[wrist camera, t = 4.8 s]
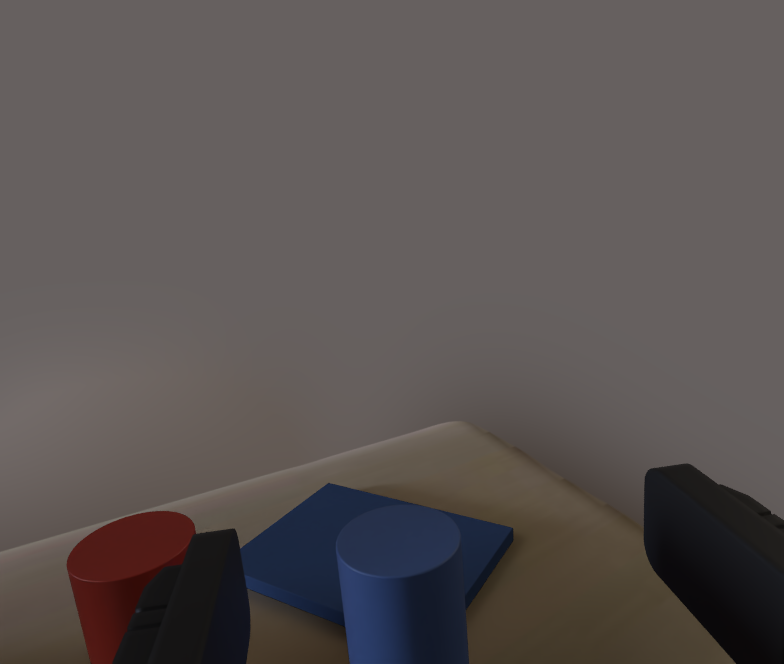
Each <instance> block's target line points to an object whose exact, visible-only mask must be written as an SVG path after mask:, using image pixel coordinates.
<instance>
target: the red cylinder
mask: <svg viewBox="0 0 784 664" xmlns="http://www.w3.org/2000/svg"><path fill="white" fill-rule="evenodd" d="M194 534H196V531H195V526H194V523H193V522H192V520H191V519H190V518H188V517H187V516H185V515H183V514H180V513H177V512H170V511H155V512H146V513H141V514H136V515H132V516H128V517H125V518H122V519H119V520H117V521H114V522H112V523H109V524H107V525H105V526H103V527H101V528H99V529H97V530H96V531H94V532H93V533H91V534H90V535H88V536H87V537H85V538H84V539H83V540H82V541H80V542H79V543H78V544H77V545H76V546H75V548H74V549H73V550H72V551H71V553H70V555H69V557H68V560H67V570H68V574H69V578H70V582H71V586H72V590H73V594H74V598H75V602H76V606H77V610H78V614H79V618H80V622H81V626H82V630H83V634H84V638H85V642H86V646H87V650H88V654H89V659H90V663H91V664H112V662H113V660H114V657H115V655H116V653H117V650H118V648H119V645H120V643H121V641H122V638H123V636H124V634H125V632H127V627H128V624H129V622H130V620H131V617H132V615H133V614H134V613H135V608H136V605H137V603H138V601H139V598H140V596H141V594H142V591H143V589H144V587H145V586H146V585H147V584H148V583H149V582H150V581H151V580H152V579H153V578H154V577H155V576H156V575H157V574H158V573H159V572H160V571H161V570H162V569H163V568H164V567H167V566H174V565H180V564H182V563H183V560H184V557H185V554H186V552H187V549H188V546H189V543H190V540H191V538H192V536H193V535H194Z"/></svg>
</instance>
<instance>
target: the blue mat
mask: <svg viewBox="0 0 784 664" xmlns="http://www.w3.org/2000/svg"><path fill="white" fill-rule="evenodd" d="M392 505H417V504H413V503H408V502H404V501H400V500H396V499H392V498H388V497H384V496H380V495H376V494H371V493H367V492H363V491H359V490H355V489H351V488H347V487H343V486H339V485H335V484H330V483H328V484H326V485H325V486H324V487H322V488H321V489H320V490H318V491H317V492H316V493H314V494H313V495H312V496H310V497H309V498H308V499H306V500H305V501H304V502H302V503H301V504H300V505H298V506H297V507H296V508H294V509H293V510H292V511H290V512H289V513H288V514H286V515H285V516H284V517H282V518H281V519H280V520H278V521H277V522H276V523H274V524H273V525H272V526H270V527H269V528H268V529H266V530H265V531H264V532H262V533H261V534H259V535H258V536H257V537H255V538H254V539H253V540H251V541H250V542H249V543H247V544H246V545H245V546H243V547H242V548H241V549H240V552H241V558H242V564H243V570H244V576H245V582H246V588H248V589H251V590H253V591H256V592H258V593H261V594H263V595H266V596H268V597H271V598H273V599H276V600H278V601H281V602H284V603H286V604H289V605H291V606H294V607H296V608H299V609H301V610H304V611H306V612H309V613H311V614H314V615H316V616H319V617H322V618H324V619H327V620H329V621H332V622H334V623H337V624H339V625H342V626H344V627H345V620H344V612H343V604H342V596H341V587H340V579H339V571H338V563H337V555H336V541H337V538H338V535H339V533H340V532H341V530H342V529H343V528H344V527H345V526H346V525H347V524H348V523H349V522H350V521H351V520H353V519H354V518H356V517H358V516H359V515H361V514H363V513H366V512H368V511H371V510H374V509H377V508H381V507H386V506H392ZM418 506H421V505H418ZM424 507H425V506H424ZM432 509H433V508H432ZM435 510H437V509H435ZM438 511H440V512H442V513H444V514H446V515H447V516H449V517H450V518H451V519H452V520H453V521H454V522H455V523H456V525H457V526H458V528H459V530H460V534H461V545H462V561H463V577H464V593H465V608H466V609H467V608H468V606H469V605H470V603H471V602H472V600H473V599H474V598H475V596H476V595H477V593H478V592H479V590H480V589H481V587H482V586H483V584H484V583H485V581H486V580H487V578H488V577H489V575H490V574H491V573H492V571H493V570H494V568H495V567H496V565H497V564H498V562H499V561H500V559H501V558H502V556H503V555H504V553H505V552H506V550H507V549H508V548H509V546H510V545H511V543H512V542H513V528H511V527H507V526H503V525H499V524H495V523H491V522H486V521H482V520H478V519H474V518H470V517H466V516H462V515H458V514H454V513H449V512H445V511H441V510H438Z"/></svg>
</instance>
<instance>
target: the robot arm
mask: <svg viewBox="0 0 784 664" xmlns="http://www.w3.org/2000/svg"><path fill="white" fill-rule="evenodd" d="M644 491H645V492H644V546H645V550H646V554H647V557H648V560H649V562H650V564H651V566H652V568H653V569H654V571H655V572H656V574H657V575H658V576H659V577H660V578H661V579H662V580H663V581H664V583H665V584H666V585H667V586H668V587H669V588H670V589H671V591H672V592H673V593H674V594H675V595H676V596H677V597H678V598H679V600H680V601H681V602H682V603H683V604H684V605H685V606H686V607H687V609H688V610H689V611H690V612H691V613H692V614H693V615H694V616H695V618H696V619H697V620H698V621H699V622H700V623H701V624H702V625H703V627H704V628H705V629H706V630H707V631H708V632H709V633H710V635H711V636H712V637H713V638H714V639H715V640H716V641H717V642H718V644H719V645H720V646H721V647H722V648H723V649H724V650H725V651H726V653H727V654H728V655H729V656H730V657H731V658H732V659H733V660H734V662H735V663H736V664H784V520H782V519H781V518H780V517H778V516H777V515H775V514H773V515H772V514H771V511H769V510H768V509H767V508H766V507H764V506H763V505H761V504H760V503H758V502H757V501H756V500H754V499H753V498H751V497H750V496H748V495H746V494H743V493H741V492H738V491H736V490H733V489H731V488H728V487H726V486H724V485H718V484H717V483H715V482H714V481H713V480H711V479H710V478H709V477H707V476H706V475H705V474H703V473H702V472H700V471H699V470H697V469H696V468H695V467H693V466H692V465H690V464H680V465H673V466H667V467H659V468H653V469H650V470H648V472H647V473H646V476H645V488H644ZM249 639H250V607H249V599H248V593H247V588H246V582H245V576H244V570H243V564H242V558H241V552H240V546H239V541H238V536H237V533H236V530H235V529H227V530H220V531H213V532H206V533H199V534H194V535H193V536H192V538H191V540H190V543H189V546H188V549H187V552H186V554H185V557H184V560H183V563H182V564H180V565H174V566H167V567H164V568H163V569H162V570H161V571H160V572H159V573H158V574H157V575H156V576H155V577H154V578H153V579H152V580H151V581H150V582H149V583H148V584H147V585H146V586H145V587H144V589H143V591H142V594H141V596H140V598H139V601H138V603H137V605H136V608H135V613H134V614H133V615H132V617H131V620H130V622H129V624H128V627H127V632H125V634H124V636H123V638H122V641H121V643H120V645H119V648H118V650H117V653H116V655H115V657H114V660H113V662H112V664H246V660H247V653H248V646H249Z"/></svg>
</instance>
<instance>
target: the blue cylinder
mask: <svg viewBox="0 0 784 664" xmlns="http://www.w3.org/2000/svg"><path fill="white" fill-rule="evenodd" d="M336 555H337V563H338V571H339V579H340V587H341V596H342V604H343V612H344V620H345V628H346V637H347V645H348V653H349V661H350V664H469V656H468V640H467V624H466V608H465V593H464V577H463V561H462V545H461V534H460V530H459V528H458V526H457V525H456V523H455V522H454V521H453V520H452V519H451V518H450V517H449V516H447V515H446V514H444V513H442V512H440V511H438V510H435V509H432V508H429V507H424V506H418V505H392V506H386V507H381V508H377V509H374V510H371V511H368V512H366V513H363V514H361V515H359V516H358V517H356V518H354V519H353V520H351V521H350V522H349V523H348V524H347V525H346V526H345V527H344V528H343V529H342V530H341V532H340V533H339V535H338V538H337V541H336Z"/></svg>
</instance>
